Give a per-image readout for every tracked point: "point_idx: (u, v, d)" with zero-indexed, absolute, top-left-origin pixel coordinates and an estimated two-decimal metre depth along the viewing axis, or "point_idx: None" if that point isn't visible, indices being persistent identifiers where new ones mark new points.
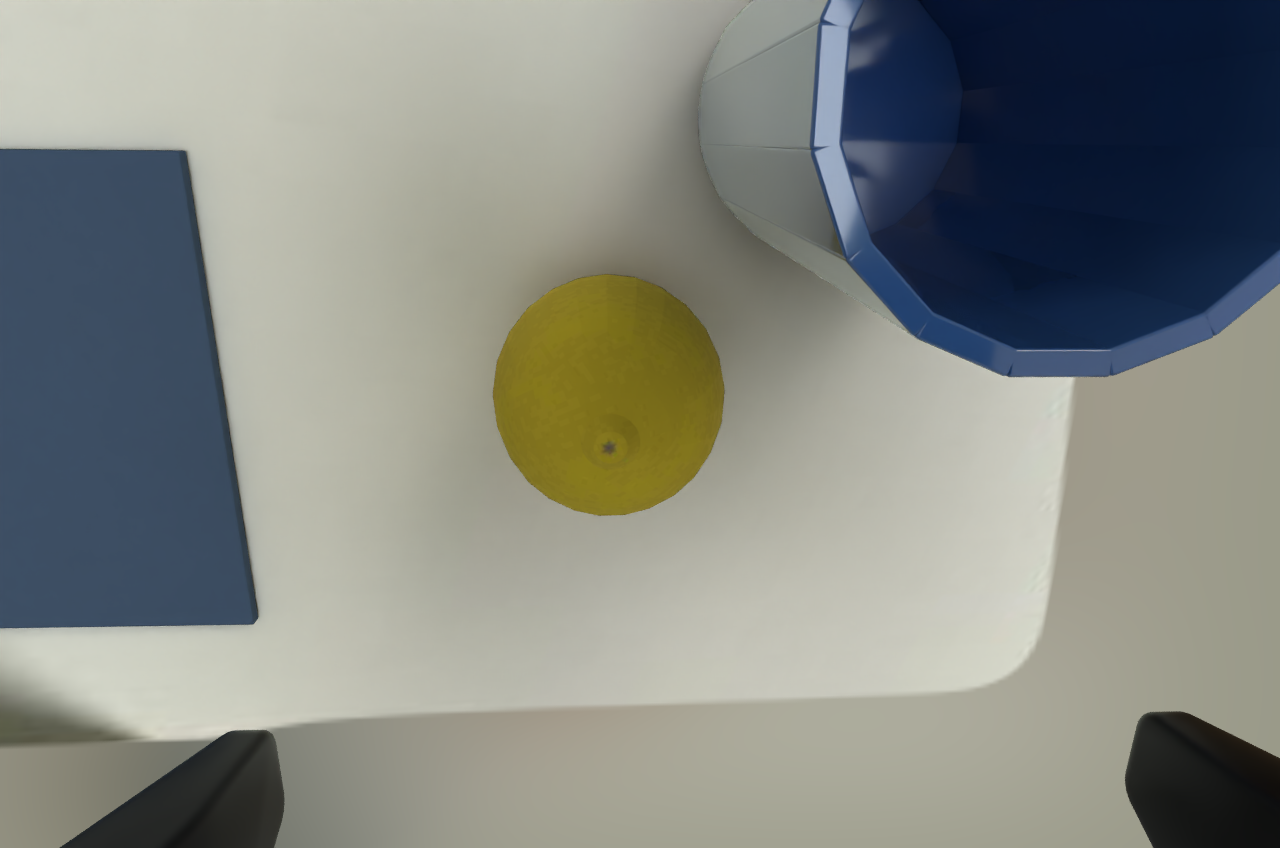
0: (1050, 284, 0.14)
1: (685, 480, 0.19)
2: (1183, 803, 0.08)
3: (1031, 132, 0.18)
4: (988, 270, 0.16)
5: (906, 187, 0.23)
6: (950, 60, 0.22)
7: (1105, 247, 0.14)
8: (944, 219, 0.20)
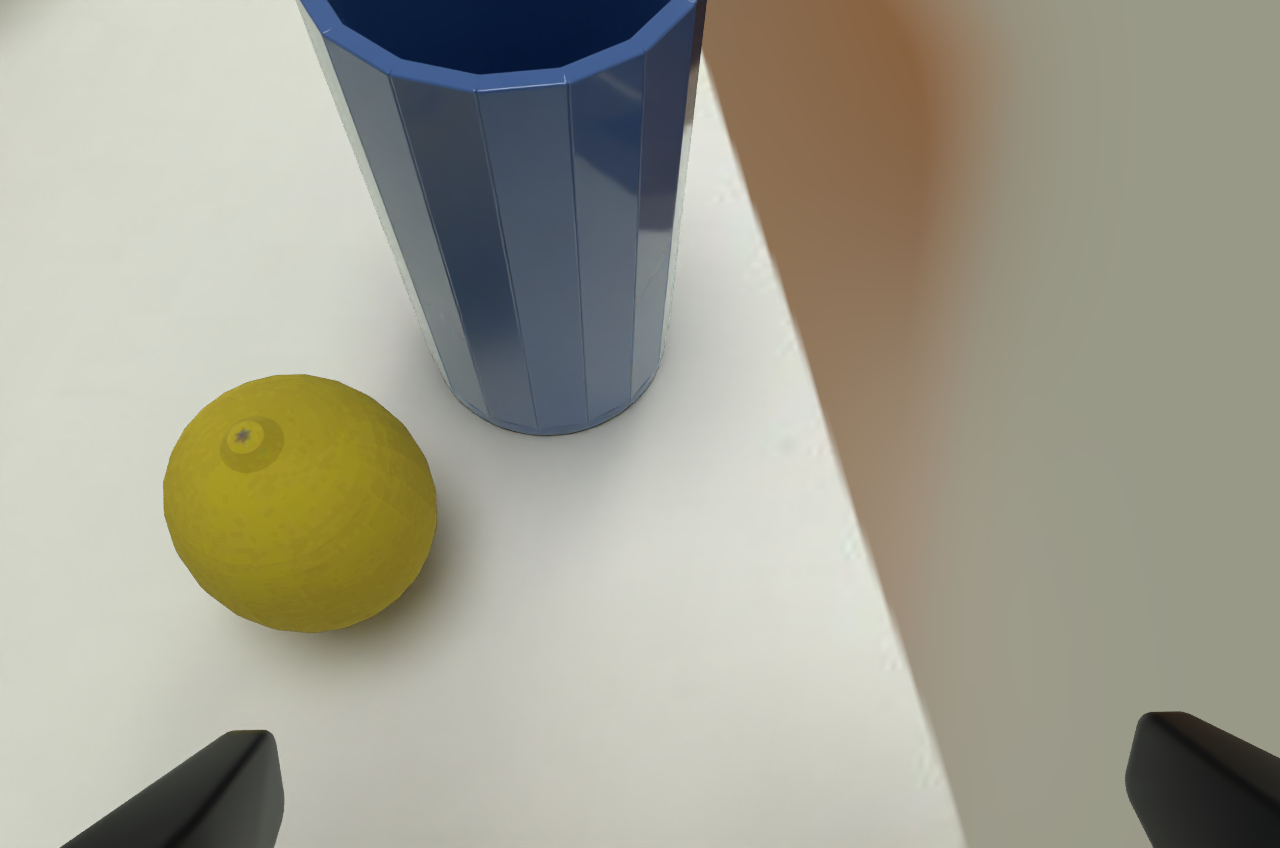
0: None
1: (357, 515, 0.17)
2: (1183, 803, 0.08)
3: None
4: None
5: None
6: None
7: None
8: None
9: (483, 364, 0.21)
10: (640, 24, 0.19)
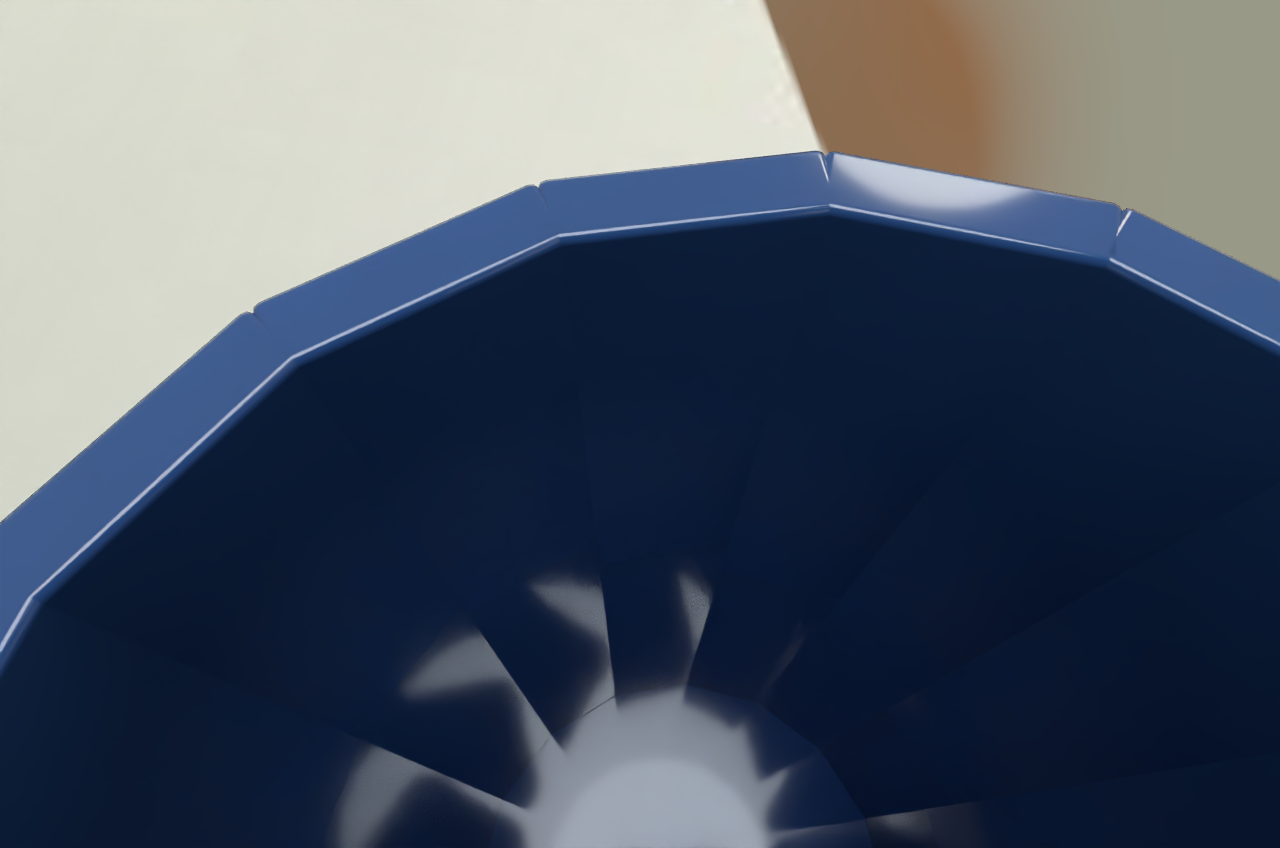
0: None
1: None
2: None
3: None
4: None
5: None
6: (829, 776, 0.14)
7: None
8: None
9: None
10: (1067, 641, 0.06)
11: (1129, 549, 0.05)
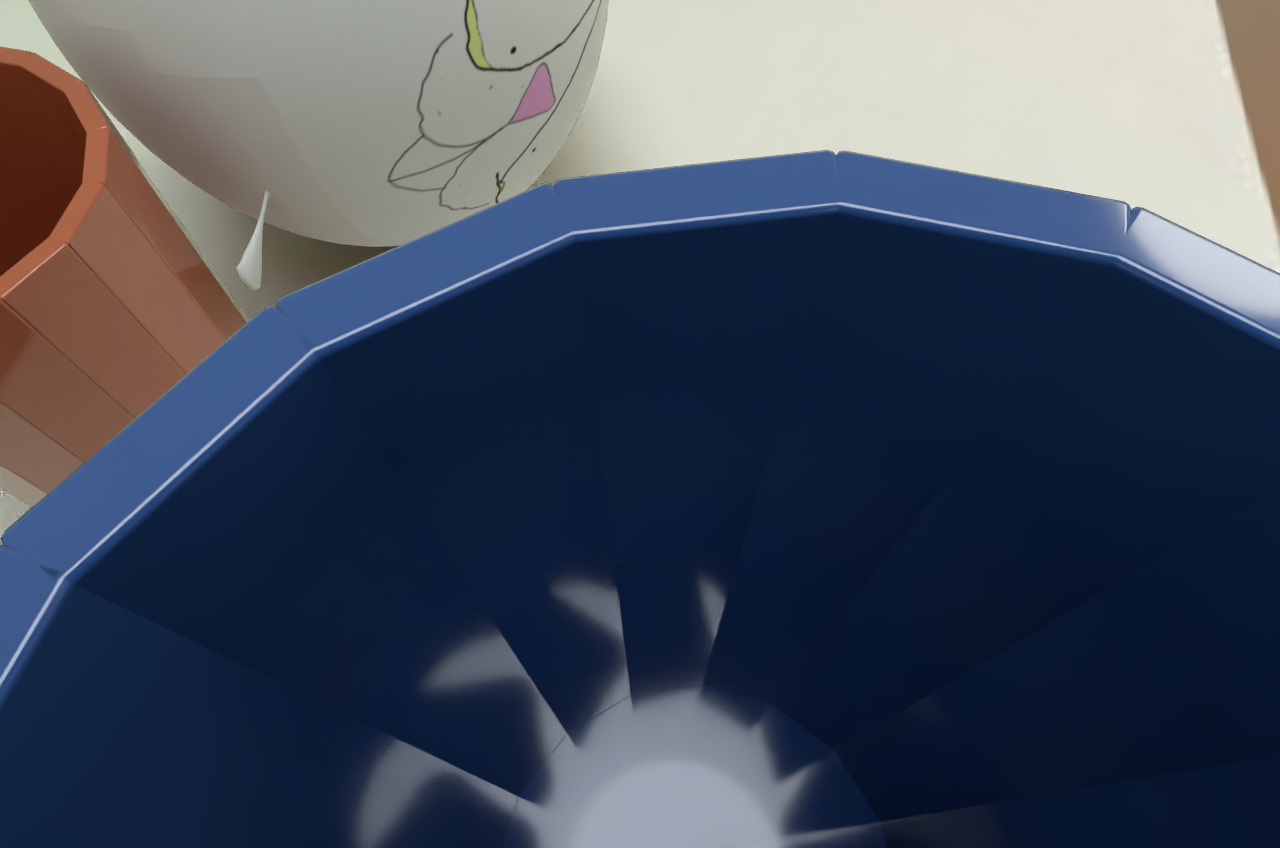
0: None
1: None
2: None
3: None
4: None
5: None
6: (844, 778, 0.14)
7: None
8: None
9: None
10: (1080, 641, 0.06)
11: (1142, 547, 0.05)
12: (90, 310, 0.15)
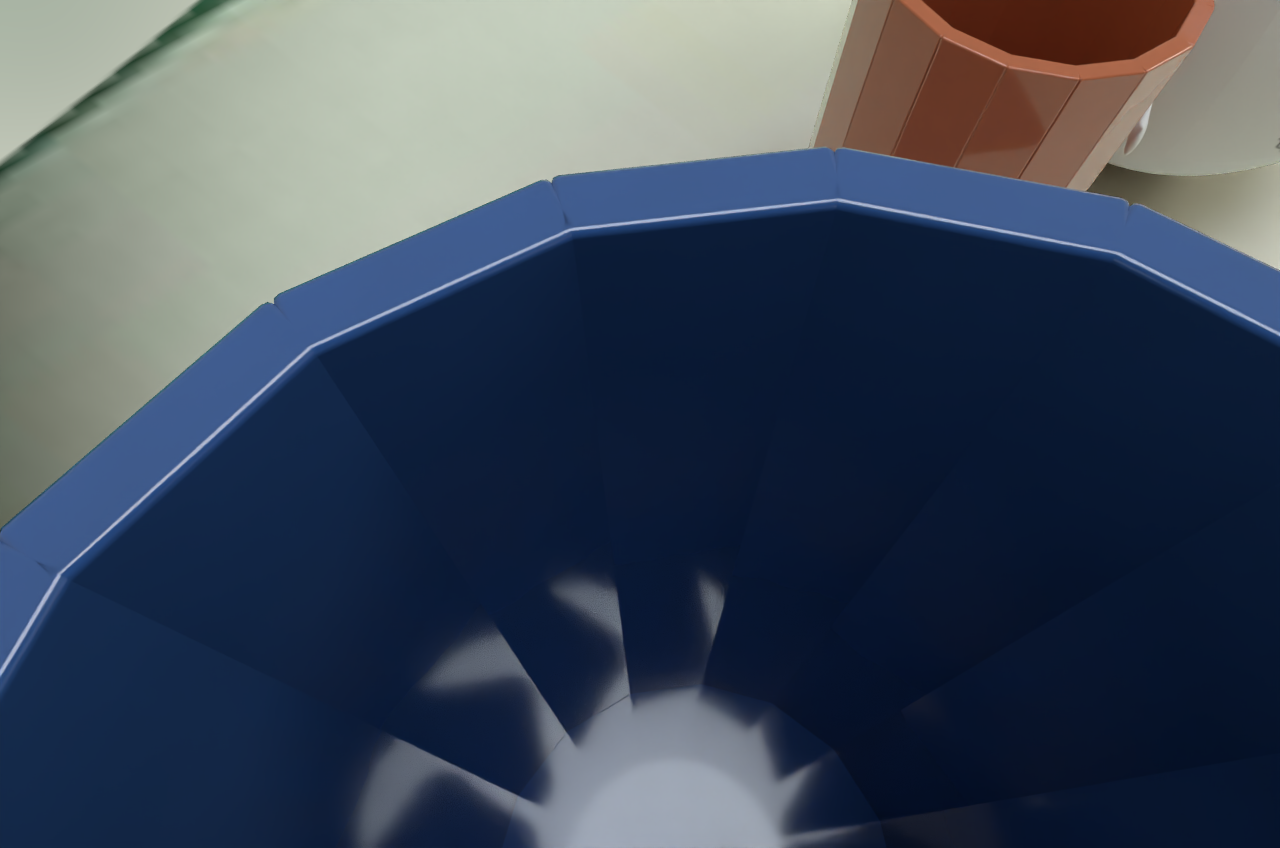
0: None
1: None
2: None
3: None
4: None
5: None
6: (844, 778, 0.14)
7: None
8: None
9: None
10: (1078, 640, 0.06)
11: (1141, 546, 0.05)
12: (1136, 112, 0.17)
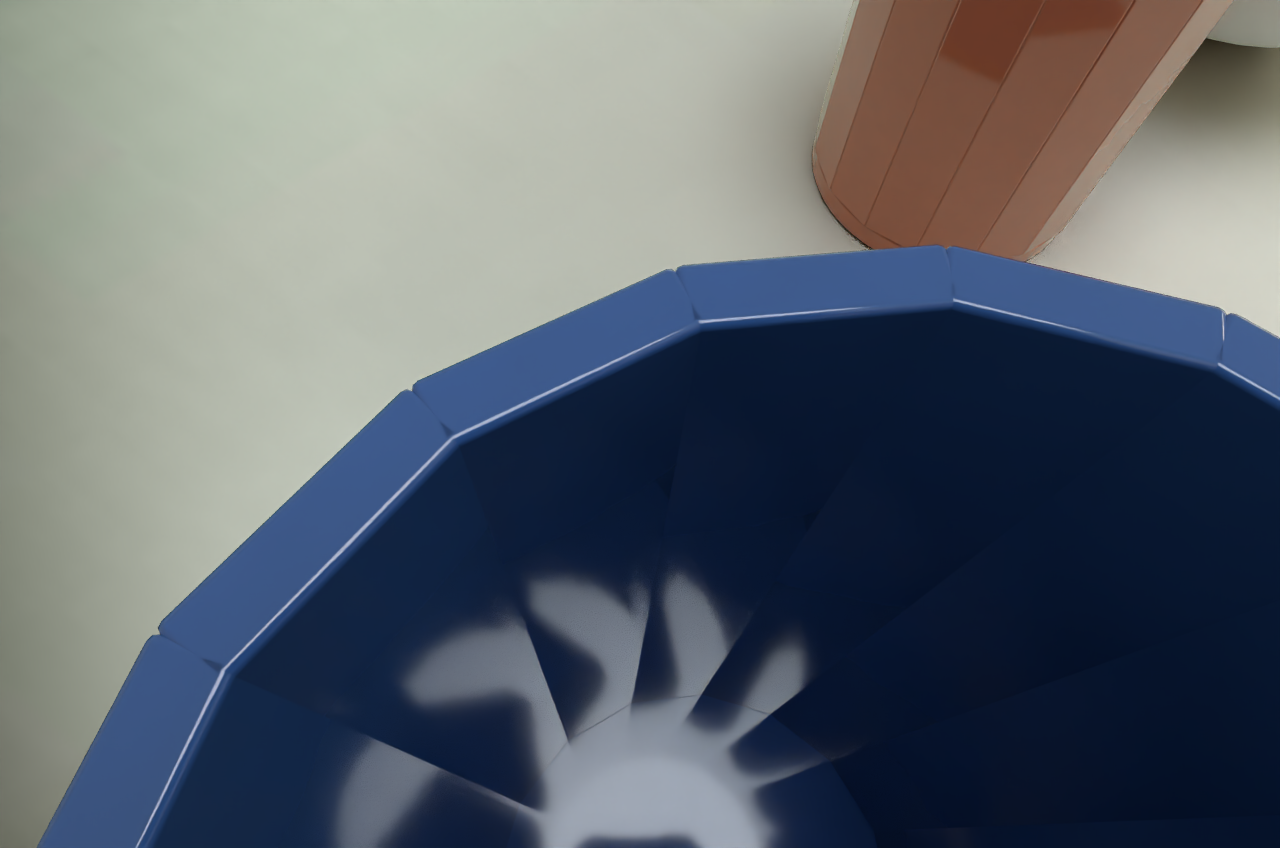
0: None
1: None
2: None
3: None
4: None
5: None
6: (839, 789, 0.15)
7: None
8: None
9: None
10: (1114, 690, 0.07)
11: (1196, 614, 0.06)
12: None
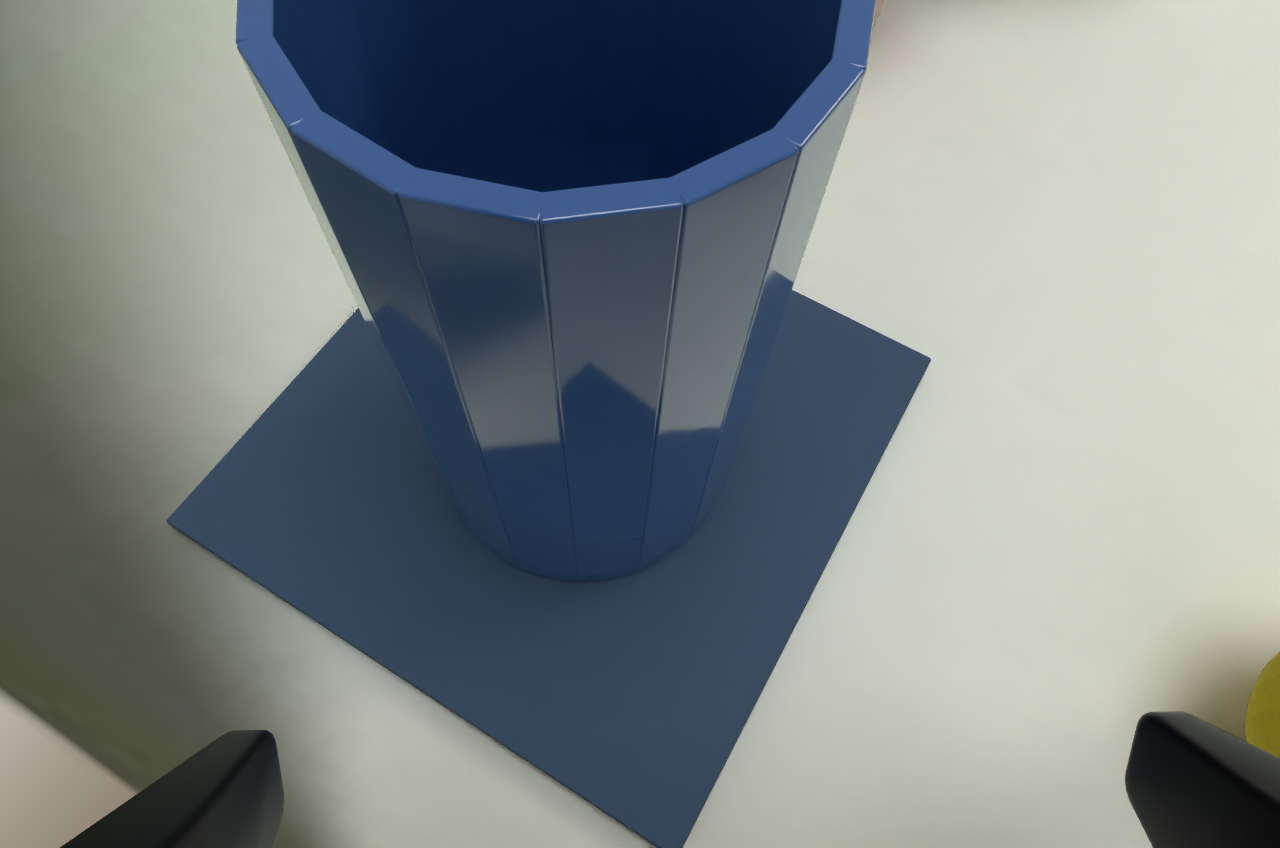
0: None
1: None
2: (1183, 803, 0.08)
3: None
4: None
5: None
6: None
7: None
8: None
9: (513, 518, 0.16)
10: (728, 81, 0.14)
11: None
12: None
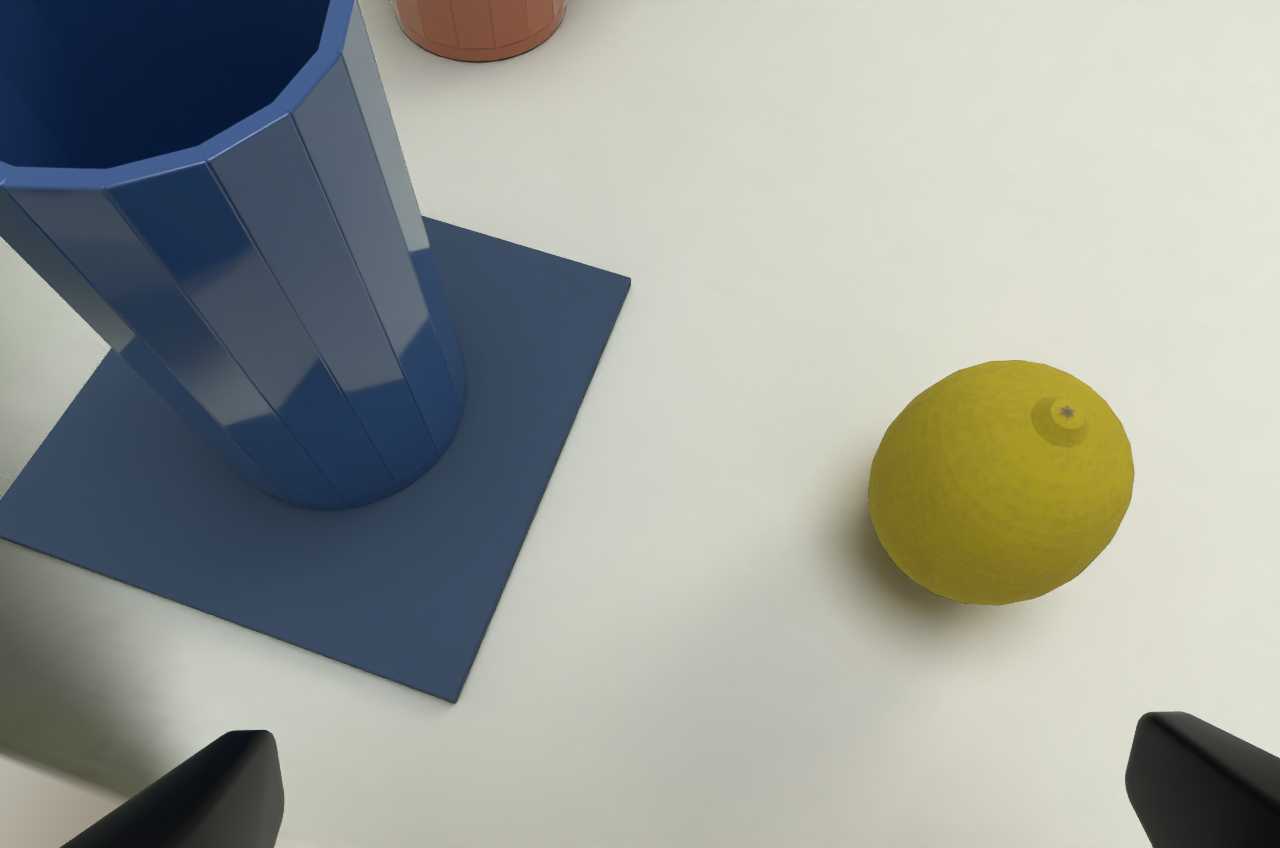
0: None
1: (1106, 522, 0.18)
2: (1184, 803, 0.08)
3: None
4: None
5: None
6: None
7: None
8: None
9: (257, 452, 0.20)
10: None
11: (300, 8, 0.17)
12: None
